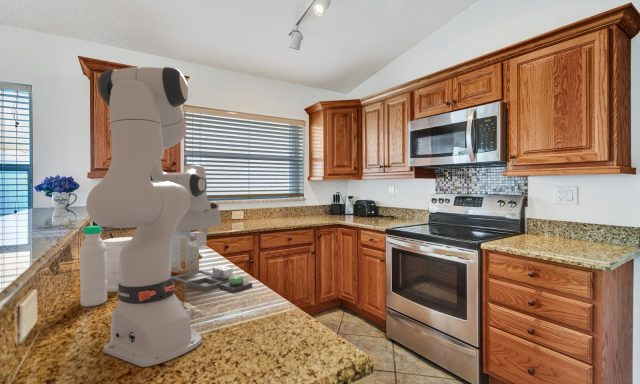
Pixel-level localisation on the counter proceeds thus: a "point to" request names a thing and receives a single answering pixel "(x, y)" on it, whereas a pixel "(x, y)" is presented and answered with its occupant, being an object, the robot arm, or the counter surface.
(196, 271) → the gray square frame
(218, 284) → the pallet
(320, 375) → the counter surface
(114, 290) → the decorative container
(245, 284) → the console
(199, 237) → the billet
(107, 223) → the robot arm
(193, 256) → the cracker box
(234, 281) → the button
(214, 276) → the block
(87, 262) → the water bottle
